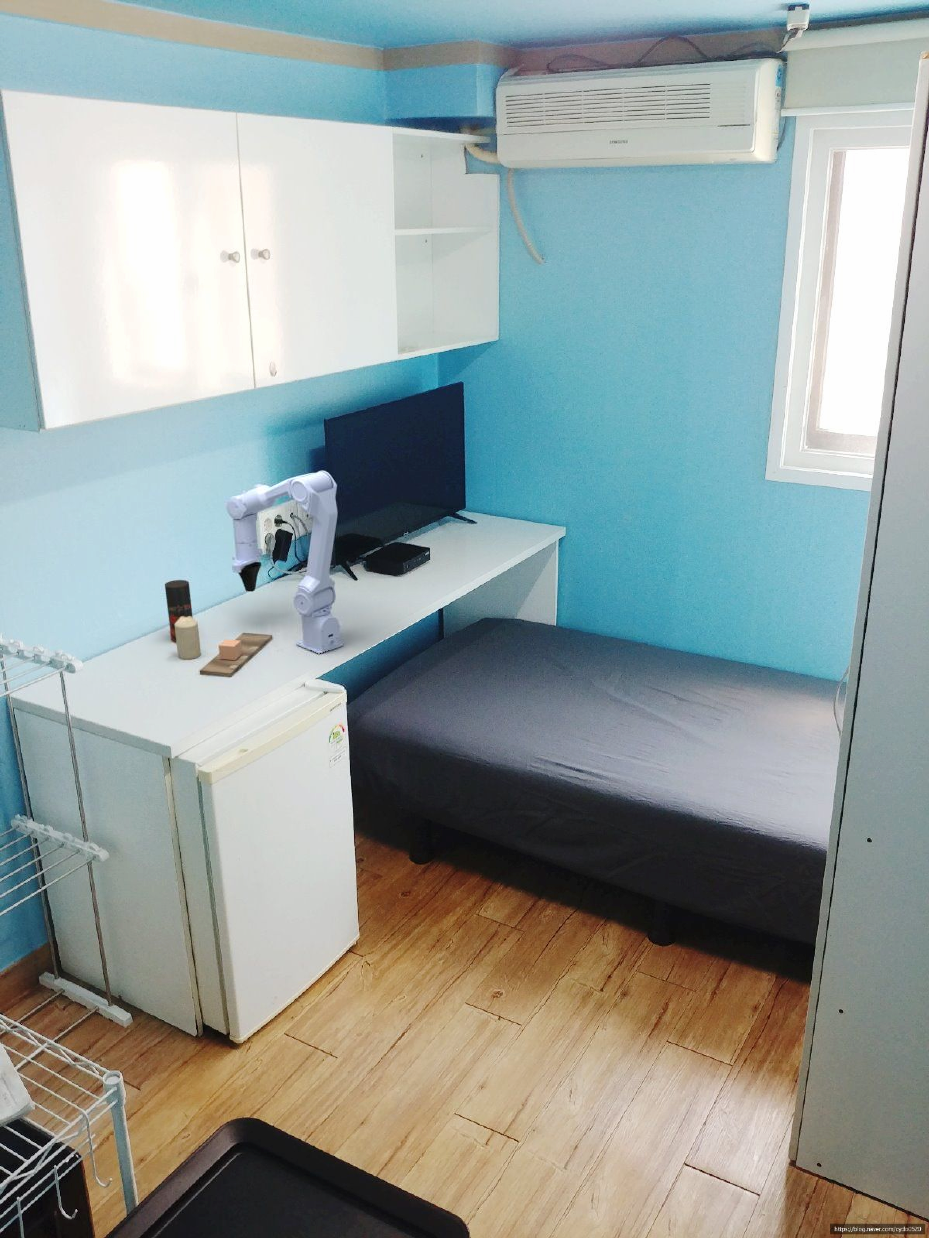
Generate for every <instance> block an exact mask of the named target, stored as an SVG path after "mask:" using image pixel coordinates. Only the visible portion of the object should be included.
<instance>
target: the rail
mask: <svg viewBox="0 0 929 1238" xmlns="http://www.w3.org/2000/svg"><path fill="white" fill-rule="evenodd" d="M234 640H240V641H241V647H242V654H241V655H240V656H239V657H238V658H237V659H236V660H228V659H220V654H219V653H218V654H217V655H216V656H214V657H213V658H212V659H211V660H210V661H208V662H207V663H206V664H205V665H204V666H203V667H202V668H201V669H199V671H198V672H199V675H203V676H215V677H216V676H217V677H227V678H232V677H234V675H235V674H236V673H237V672H238V671H239V670H241V669H242V668H243V667H244V666H245V665H246V664H247V663H248V662H249V661H250V660H252V659H253V657H255V656H256V655H257V654H258V653H259V652H260V651H261V650H262V649H263V648H265V646H266V645H267V644H268V643H269V642H271V641H272V640H273V634H264V633H251V632H250V633H249V632H242V633H241V634H240V635H239V636H238V637H237V638H235V639H234Z"/></svg>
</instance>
